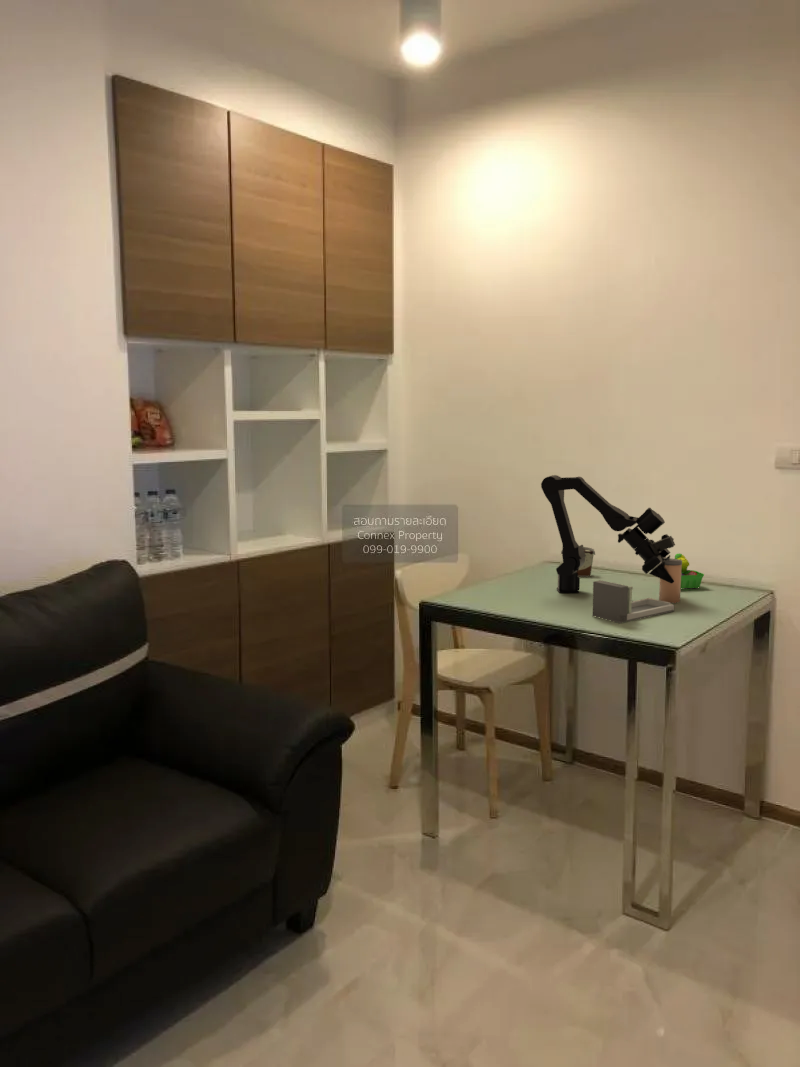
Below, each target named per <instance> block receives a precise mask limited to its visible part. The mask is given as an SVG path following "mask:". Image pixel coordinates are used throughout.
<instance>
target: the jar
mask: <svg viewBox="0 0 800 1067" xmlns="http://www.w3.org/2000/svg"><path fill="white" fill-rule="evenodd" d="M664 560H665V568H666V569H667V571H668V572H669V574H670V575H671V577H672V578H673V580H674V582H673V583H669V582H667V581H665V580H663V579H660V578H659V593H658V594H659V596H658V600H661V601H665V602H670V603H671V604H677V603H680V602H681V590H682V589H681V568H682V560H679V559H675V558H670V559H662V561H661V562H663V561H664ZM676 602H677V603H676Z"/></svg>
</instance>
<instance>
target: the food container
mask: <svg viewBox="0 0 800 1067" xmlns="http://www.w3.org/2000/svg"><path fill="white" fill-rule="evenodd" d="M583 548H584V553H585V554H586V557H585V562H584V564H583V565H582V566H581V567H580V568H579V570H578V571H577V573H578V577H588V576H592V575H591V574H592V569H593V562H594V556H596V551H595V549H594V548H592V547H586V546H583ZM560 555H562V550H561V551H560Z"/></svg>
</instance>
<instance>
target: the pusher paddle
mask: <svg viewBox="0 0 800 1067" xmlns="http://www.w3.org/2000/svg"><path fill="white" fill-rule="evenodd" d="M611 583H615V584H618V583H617V582H611ZM619 584H620V585H623V584H621V583H619ZM624 585H625V584H624ZM625 586H628V602H627V614H628V613H631V607H632V601H633V599H632V597H633V589H634V588H633V586H631V585H625Z"/></svg>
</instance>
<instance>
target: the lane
mask: <svg viewBox="0 0 800 1067" xmlns="http://www.w3.org/2000/svg"><path fill="white" fill-rule="evenodd" d="M592 583H593V585H592V586H593V587H592V613H591V614H592V615H591V616H592V617H593V616H596V617H595V618H597V617H600V618H599V619H601V618H603V619H602V620H605V619H607V620H606V621H609V620H611V621H610V622H613V621H614V623H616V622H618V624H622V622H624V623H627V621H628V622H632V621H631V620H633V621H636V619H637V620H641V619H645V618H644V617H646V618H650V617H654V615H655V616H659V615H663V613H664V614H668V613H671V612H674V610H675V604H674V603H670V602H665V601H661V600H659V599H655V598H652V597H651V598H650V597H648V598H642V599H638V600H632V607H631V613H628V614H627V602H628V586H629V585H627V586H625V584H622V585H620V584H621V583H617V584H615V583H616V582H613V583H612V582H611V581H605V580H601V579H600V580H596V581H595V580H594V581H593V582H592ZM649 616H650V617H649ZM640 618H641V619H640Z"/></svg>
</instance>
